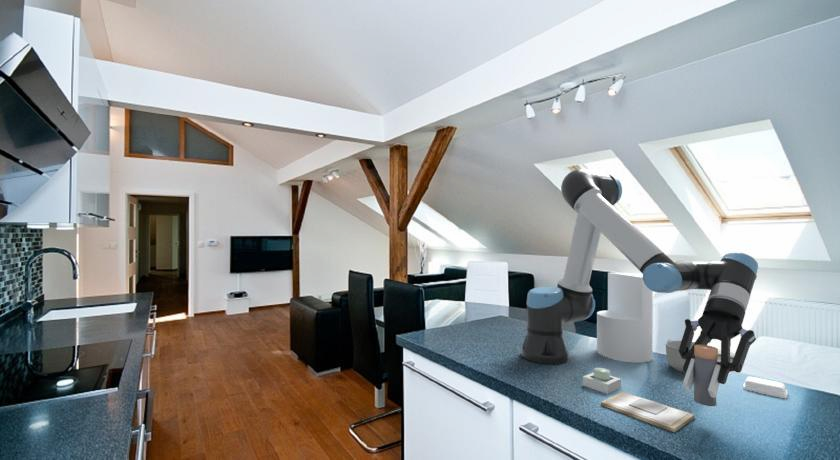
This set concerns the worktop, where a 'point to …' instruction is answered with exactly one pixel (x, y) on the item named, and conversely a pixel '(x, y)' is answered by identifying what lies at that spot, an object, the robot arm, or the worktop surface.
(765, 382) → the soap
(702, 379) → the marker
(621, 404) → the wooden picture frame
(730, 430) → the worktop surface
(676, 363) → the teacup
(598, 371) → the button
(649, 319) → the cylinder
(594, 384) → the button housing
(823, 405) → the worktop surface
